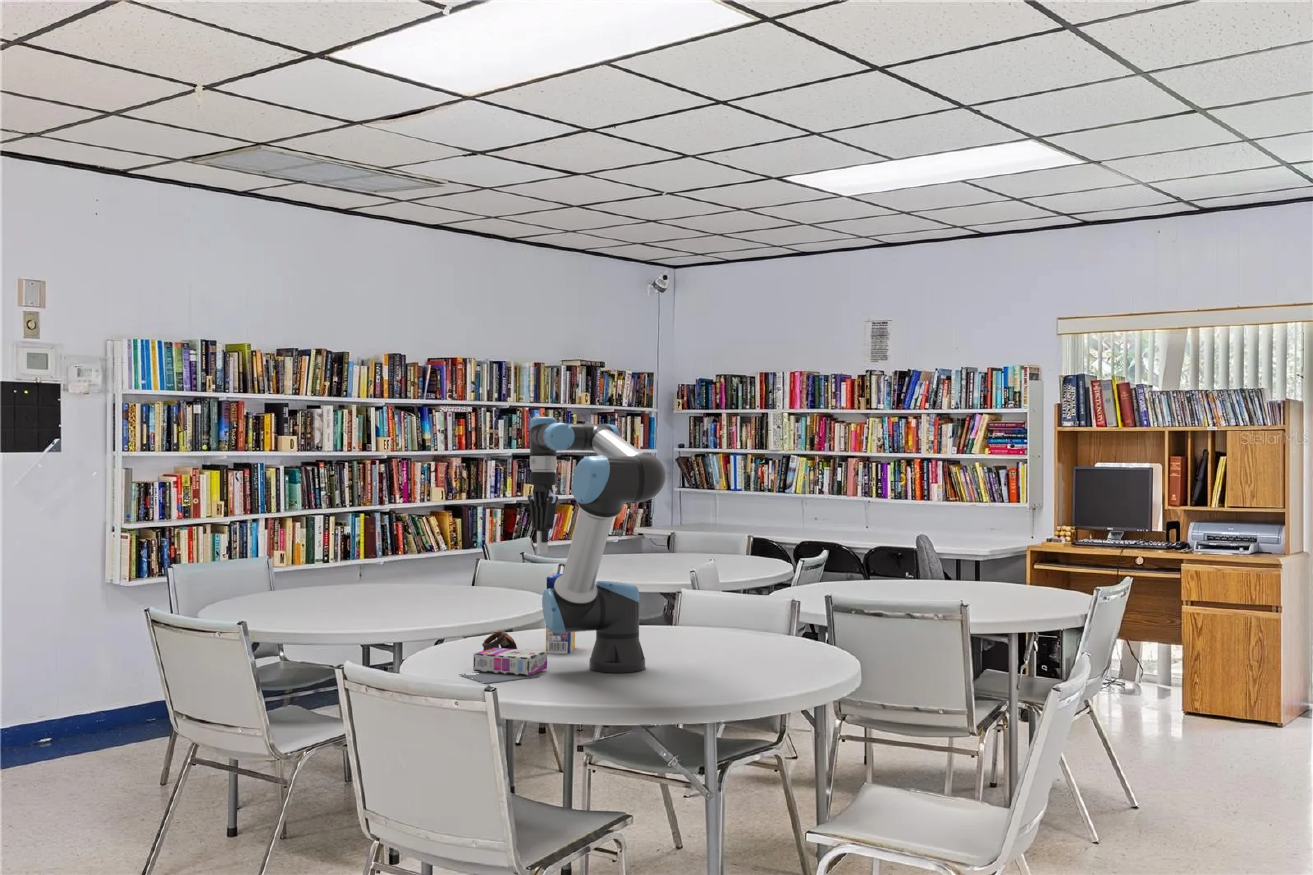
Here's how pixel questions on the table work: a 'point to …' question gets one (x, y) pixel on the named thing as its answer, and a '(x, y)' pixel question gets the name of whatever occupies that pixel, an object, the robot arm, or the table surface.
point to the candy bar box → (510, 661)
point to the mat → (497, 677)
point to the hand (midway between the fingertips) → (542, 553)
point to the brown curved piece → (499, 641)
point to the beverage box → (558, 640)
